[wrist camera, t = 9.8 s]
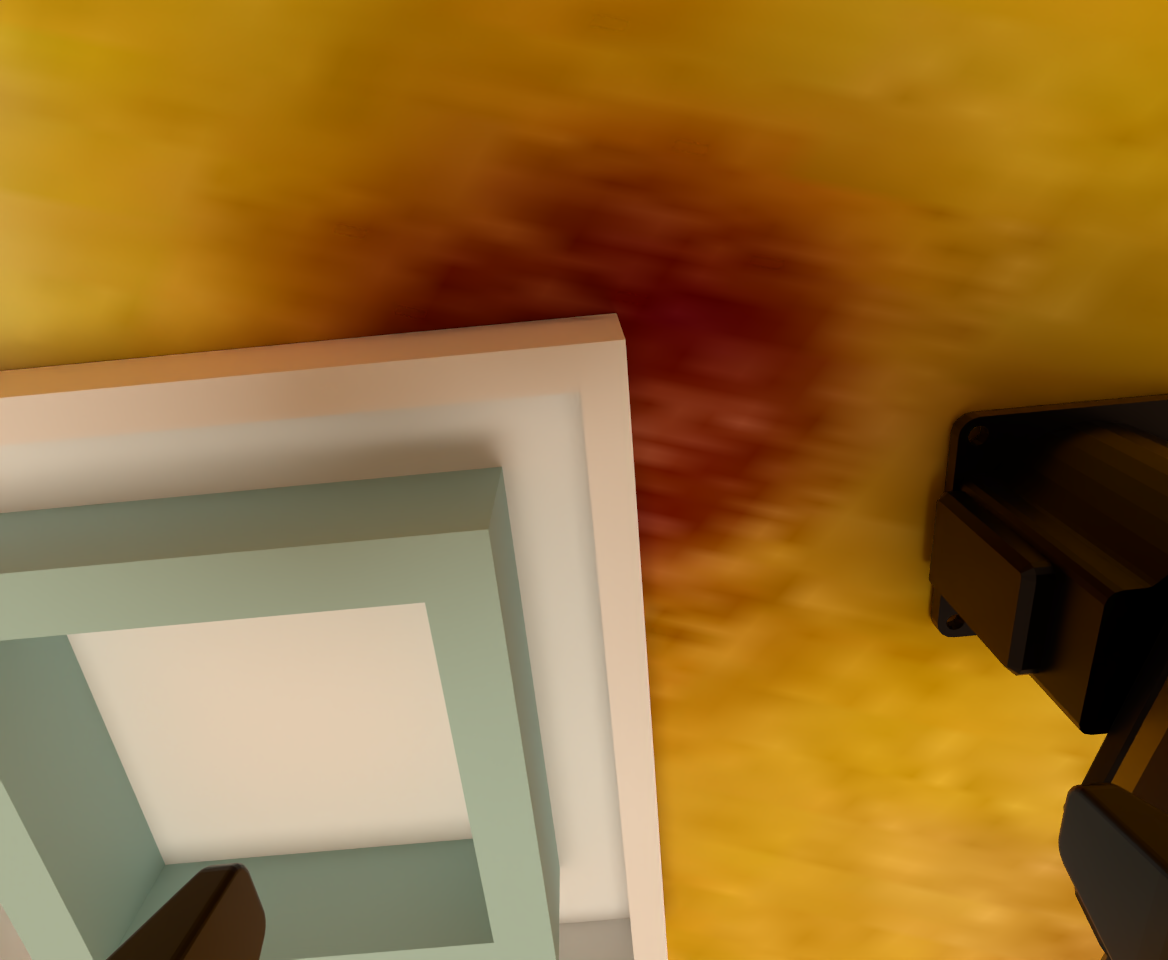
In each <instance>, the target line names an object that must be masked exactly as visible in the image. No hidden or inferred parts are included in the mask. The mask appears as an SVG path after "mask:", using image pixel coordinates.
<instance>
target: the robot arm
mask: <svg viewBox="0 0 1168 960" xmlns="http://www.w3.org/2000/svg"><path fill="white" fill-rule="evenodd" d="M978 426H980V428H981V430H980V433H979V435H978V436H977V437H976V438H974V439H971V440H969V439H968V436H969V433H970V431H971V430H972V429H973V428H975V427H978ZM929 580H930V582H931V584H932V585H933V586H934V593H933V602H932V612H931V619H932V622H933V624H934V625H935V626H936V628H937V629H938V630H939V631H940V632H941V634H943V635H945V636H947V637H961V636H973V635H977V636H978V637H979V638H980V639H981V640H982V642H983V643H984V644H985V645H986V646H987V647H988V648H989V649H990V651H991V652H992V653H993V654H994V655H995V656H996V657H997V659H998V660H999V661H1000V662H1001V663H1002V664H1003V665H1004V666H1005V667H1006V668H1007V669H1008V670H1009V671H1011V672H1012V673H1013V674H1015V675H1028V674H1029V675H1030V676H1031V677H1032V678H1033V679H1034V680H1035V681H1036V683H1037V684H1038V685H1039V686H1040V687H1041V688H1042V689H1043V690H1044V691H1045V692H1046V694H1047V695H1048V696H1049V697H1050V698H1051V699H1052V700H1053V701H1054V702H1055V703H1056V704H1057V706H1058V707H1059V708H1060V709H1061V710H1062V711H1063V712H1064V713H1065V714H1066V715H1067V716H1068V718H1069V719H1070V720H1071V721H1072V722H1073V723H1074V724H1075V725H1076V726H1077V727H1078V728H1079V730H1081V731H1082V732H1083V733H1084V734H1090V735H1094V734H1106V733H1108V734H1107V736H1106V738H1105V740H1104V742H1103V743H1102V745H1101V747H1100V749H1099V751H1098V753H1097V755H1096V757H1095V759H1094V761H1093V763H1092V765H1091V767H1090V769H1089V771H1088V772H1087V774H1086V776H1085V778H1084V780H1083V782H1082V784H1081V785H1076V786H1073V787H1072V788H1071V789H1070V790H1069V791H1068V794H1067V798H1066V802H1065V804H1064V806H1063V807H1064V813H1063V818H1062V823H1061V828H1060V833H1059V842H1058V843H1059V851H1060V855H1061V858H1062V861H1063V864H1064V866H1065V868H1066V870H1067V872H1068V874H1069V876H1070V878H1071V880H1072V882H1073V884H1074V886H1075V895H1076V897H1077V899H1078V901H1079V903H1080V905H1081V907H1082V909H1083V911H1084V913H1085V915H1086V917H1087V920H1088V922H1089V924H1090V926H1091V928H1092V930H1093V932H1094V934H1095V936H1096V938H1097V940H1098V942H1099V944H1100V946H1101V947H1102V949H1103V950H1104V952H1105V954H1104V955H1103V957H1102V959H1101V960H1168V394H1161V395H1151V396H1140V397H1129V398H1118V399H1107V400H1096V401H1085V402H1074V403H1063V404H1052V405H1041V406H1030V407H1019V408H1008V409H997V410H986V411H975V412H970V413H966V414H964V415H963V416H961V417H960V418H958V419H957V421H956V422H955V423H954V424H953V427H952V430H951V435H950V444H949V454H948V463H947V472H946V481H945V491H944V493H943V494H942V495H941V497H940V498H939V499H938V501H937V506H936V516H935V526H934V535H933V545H932V554H931V564H930V574H929ZM955 614H958V615H957V617H956V618H955V619H954V620H952V621H949V622H947V620H948V618H950V617H951V616H952V615H955ZM265 931H266V917H265V912H264V909H263V906H262V903H261V901H260V898H259V896H258V893H257V891H256V888H255V885H254V883H253V880H252V878H251V875H250V872H249V870H248V868H247V867H246V866H245V865H243V864H242V863H228V864H217V865H210V866H207V867H205V868H203V869H201V870H200V871H199V872H198V873H196V874H195V875H194V876H193V877H192V878H191V879H190V880H189V881H188V882H187V883H186V884H185V885H184V886H183V887H182V888H181V889H180V890H178V891H177V892H176V893H175V894H174V895H173V896H172V897H171V898H170V899H169V900H168V901H167V902H166V903H165V904H164V905H163V906H162V907H161V908H160V909H158V910H157V911H156V912H155V913H154V914H153V915H152V916H151V917H150V918H149V919H148V920H147V921H146V922H145V923H144V924H143V925H142V926H141V927H140V928H138V929H137V930H136V931H135V932H134V933H133V934H132V935H131V936H130V937H129V938H128V939H127V940H126V941H125V942H124V943H123V944H122V945H121V946H120V947H118V948H117V949H116V950H115V951H114V952H113V953H112V954H111V955H110V956H109V957H108V958H107V959H106V960H259V959H260V955H261V951H262V946H263V942H264V937H265Z"/></svg>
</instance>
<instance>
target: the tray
mask: <svg viewBox="0 0 1168 960" xmlns="http://www.w3.org/2000/svg"><path fill="white" fill-rule="evenodd" d="M493 467H502V470H503V477H504V484H505V491H506V498H507V505H508V512H509V519H510V526H511V532H512V539H513V546H514V553H515V560H516V567H517V574H518V581H519V588H520V595H521V602H522V609H523V616H524V623H525V630H526V637H527V644H528V650H529V657H530V664H531V671H532V678H533V685H534V692H535V699H536V706H537V713H538V720H539V727H540V734H541V741H542V748H543V755H544V762H545V768H546V775H547V782H548V789H549V796H550V803H551V810H552V817H553V824H554V831H555V838H556V845H557V852H558V859H559V866H560V904H559V960H668V957H667V942H666V927H665V913H664V898H663V883H662V869H661V854H660V839H659V825H658V810H657V795H656V781H655V766H654V751H653V737H652V722H651V707H650V692H649V678H648V663H647V648H646V634H645V619H644V604H643V590H642V575H641V560H640V546H639V531H638V516H637V502H636V487H635V472H634V458H633V443H632V428H631V413H630V399H629V384H628V369H627V355H626V340H625V337H624V334H623V331H622V328H621V325H620V322H619V319H618V316H617V314H616V313H612V314H601V315H590V316H580V317H569V318H559V319H548V320H537V321H527V322H516V323H505V324H495V325H484V326H473V327H463V328H452V329H442V330H431V331H420V332H410V333H399V334H388V335H378V336H367V337H356V338H346V339H335V340H324V341H314V342H303V343H293V344H282V345H271V346H261V347H250V348H239V349H229V350H218V351H207V352H197V353H186V354H176V355H165V356H154V357H144V358H133V359H122V360H112V361H101V362H90V363H80V364H69V365H58V366H48V367H37V368H27V369H16V370H5V371H0V513H8V512H19V511H29V510H40V509H51V508H62V507H72V506H83V505H94V504H105V503H116V502H126V501H137V500H148V499H159V498H170V497H180V496H191V495H202V494H213V493H224V492H234V491H245V490H256V489H267V488H278V487H288V486H299V485H310V484H321V483H331V482H342V481H353V480H364V479H375V478H385V477H396V476H407V475H418V474H429V473H439V472H450V471H461V470H472V469H483V468H493ZM67 637H68V639H69V642H70V644H71V646H72V649H73V651H74V653H75V656H76V658H77V660H78V663H79V665H80V667H81V670H82V672H83V674H84V677H85V679H86V681H87V684H88V686H89V688H90V691H91V693H92V695H93V698H94V700H95V702H96V705H97V707H98V709H99V712H100V714H101V716H102V719H103V721H104V723H105V726H106V728H107V730H108V733H109V735H110V737H111V740H112V742H113V744H114V746H115V749H116V751H117V753H118V756H119V758H120V760H121V763H122V765H123V767H124V770H125V772H126V774H127V777H128V779H129V781H130V784H131V786H132V788H133V791H134V793H135V795H136V798H137V800H138V802H139V805H140V807H141V809H142V812H143V814H144V816H145V819H146V821H147V823H148V826H149V828H150V830H151V833H152V835H153V837H154V840H155V842H156V844H157V847H158V849H159V851H160V854H161V856H162V858H163V861H164V863H165V865H168V864H180V863H191V862H203V861H215V860H227V859H239V858H250V857H262V856H274V855H286V854H297V853H309V852H321V851H333V850H345V849H356V848H368V847H380V846H392V845H403V844H415V843H427V842H439V841H451V840H462V839H473V837H472V832H471V827H470V822H469V818H468V813H467V808H466V803H465V798H464V793H463V788H462V783H461V778H460V773H459V768H458V763H457V758H456V753H455V749H454V744H453V739H452V734H451V729H450V724H449V719H448V714H447V709H446V704H445V699H444V694H443V689H442V684H441V679H440V675H439V670H438V665H437V660H436V655H435V650H434V645H433V640H432V635H431V630H430V625H429V620H428V615H427V610H426V606H425V602H424V603H413V604H402V605H391V606H380V607H368V608H357V609H346V610H335V611H324V612H313V613H302V614H291V615H279V616H268V617H257V618H246V619H235V620H224V621H213V622H202V623H191V624H179V625H168V626H157V627H146V628H135V629H124V630H113V631H102V632H91V633H79V634H68V635H67ZM0 960H32V958H31V956H30V955H29V953H28V951H27V949H26V948H25V946H24V944H23V942H22V941H21V939H20V937H19V935H18V933H17V932H16V930H15V928H14V926H13V925H12V923H11V921H10V919H9V917H8V916H7V914H6V912H5V910H4V909H3V907H2V905H1V903H0Z"/></svg>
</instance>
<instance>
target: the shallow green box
mask: <svg viewBox="0 0 1168 960" xmlns="http://www.w3.org/2000/svg"><path fill="white" fill-rule="evenodd" d="M424 602H425V606H426V610H427V615H428V620H429V625H430V630H431V635H432V640H433V645H434V650H435V655H436V660H437V665H438V670H439V675H440V679H441V684H442V689H443V694H444V699H445V704H446V709H447V714H448V719H449V724H450V729H451V734H452V739H453V744H454V749H455V753H456V758H457V763H458V768H459V773H460V778H461V783H462V788H463V793H464V798H465V803H466V808H467V813H468V818H469V822H470V827H471V832H472V837H473V839H462V840H451V841H439V842H427V843H415V844H403V845H392V846H380V847H368V848H356V849H345V850H333V851H321V852H309V853H297V854H286V855H274V856H262V857H250V858H239V859H227V860H215V861H203V862H191V863H180V864H168V865H165V863H164V861H163V858H162V856H161V854H160V851H159V849H158V847H157V844H156V842H155V840H154V837H153V835H152V833H151V830H150V828H149V826H148V823H147V821H146V819H145V816H144V814H143V812H142V809H141V807H140V805H139V802H138V800H137V798H136V795H135V793H134V791H133V788H132V786H131V784H130V781H129V779H128V777H127V774H126V772H125V770H124V767H123V765H122V763H121V760H120V758H119V756H118V753H117V751H116V749H115V746H114V744H113V742H112V740H111V737H110V735H109V733H108V730H107V728H106V726H105V723H104V721H103V719H102V716H101V714H100V712H99V709H98V707H97V705H96V702H95V700H94V698H93V695H92V693H91V691H90V688H89V686H88V684H87V681H86V679H85V677H84V674H83V672H82V670H81V667H80V665H79V663H78V660H77V658H76V656H75V653H74V651H73V649H72V646H71V644H70V642H69V639H68V637H67V635H68V634H79V633H91V632H102V631H113V630H124V629H135V628H146V627H157V626H168V625H179V624H191V623H202V622H213V621H224V620H235V619H246V618H257V617H268V616H279V615H291V614H302V613H313V612H324V611H335V610H346V609H357V608H368V607H380V606H391V605H402V604H413V603H424ZM228 863H242V864H243V865H245V866H246V867H247V868H248V870H249V872H250V875H251V878H252V880H253V883H254V885H255V888H256V891H257V893H258V896H259V898H260V901H261V903H262V906H263V909H264V912H265V917H266V931H265V937H264V942H263V946H262V951H261V955H260V959H259V960H559V904H560V866H559V859H558V852H557V845H556V838H555V831H554V824H553V817H552V810H551V803H550V796H549V789H548V782H547V775H546V768H545V762H544V755H543V748H542V741H541V734H540V727H539V720H538V713H537V706H536V699H535V692H534V685H533V678H532V671H531V664H530V657H529V650H528V644H527V637H526V630H525V623H524V616H523V609H522V602H521V595H520V588H519V581H518V574H517V567H516V560H515V553H514V546H513V539H512V532H511V526H510V519H509V512H508V505H507V498H506V491H505V484H504V477H503V470H502V467H493V468H483V469H472V470H461V471H450V472H439V473H429V474H418V475H407V476H396V477H385V478H375V479H364V480H353V481H342V482H331V483H321V484H310V485H299V486H288V487H278V488H267V489H256V490H245V491H234V492H224V493H213V494H202V495H191V496H180V497H170V498H159V499H148V500H137V501H126V502H116V503H105V504H94V505H83V506H72V507H62V508H51V509H40V510H29V511H19V512H8V513H0V903H1V905H2V907H3V909H4V910H5V912H6V914H7V916H8V917H9V919H10V921H11V923H12V925H13V926H14V928H15V930H16V932H17V933H18V935H19V937H20V939H21V941H22V942H23V944H24V946H25V948H26V949H27V951H28V953H29V955H30V956H31V958H32V960H106V959H107V958H108V957H109V956H110V955H111V954H112V953H113V952H114V951H115V950H116V949H117V948H118V947H120V946H121V945H122V944H123V943H124V942H125V941H126V940H127V939H128V938H129V937H130V936H131V935H132V934H133V933H134V932H135V931H136V930H137V929H138V928H140V927H141V926H142V925H143V924H144V923H145V922H146V921H147V920H148V919H149V918H150V917H151V916H152V915H153V914H154V913H155V912H156V911H157V910H158V909H160V908H161V907H162V906H163V905H164V904H165V903H166V902H167V901H168V900H169V899H170V898H171V897H172V896H173V895H174V894H175V893H176V892H177V891H178V890H180V889H181V888H182V887H183V886H184V885H185V884H186V883H187V882H188V881H189V880H190V879H191V878H192V877H193V876H194V875H195V874H196V873H198V872H199V871H200V870H201V869H203V868H205V867H207V866H210V865H217V864H228Z"/></svg>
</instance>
